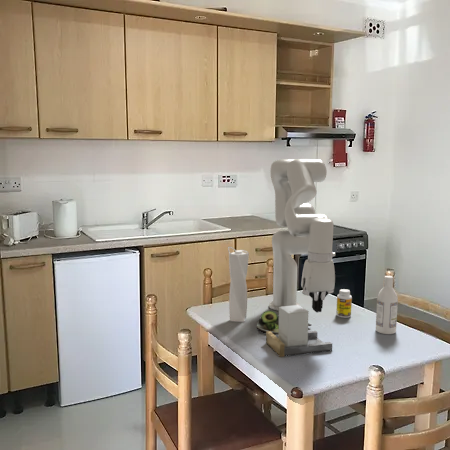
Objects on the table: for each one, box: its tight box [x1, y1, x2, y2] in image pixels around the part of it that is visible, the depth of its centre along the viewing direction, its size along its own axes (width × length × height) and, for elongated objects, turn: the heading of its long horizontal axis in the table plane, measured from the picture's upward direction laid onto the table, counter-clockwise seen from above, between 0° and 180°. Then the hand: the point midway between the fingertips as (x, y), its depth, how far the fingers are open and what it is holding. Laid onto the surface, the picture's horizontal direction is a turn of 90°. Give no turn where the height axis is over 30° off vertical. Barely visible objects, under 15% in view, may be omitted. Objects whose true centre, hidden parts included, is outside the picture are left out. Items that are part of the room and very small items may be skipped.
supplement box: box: [278, 304, 310, 347], centre depth 161 cm, size 7×7×13 cm
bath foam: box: [375, 275, 399, 335], centre depth 177 cm, size 7×7×20 cm
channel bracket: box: [265, 330, 333, 358], centre depth 163 cm, size 12×18×4 cm, turn 106°
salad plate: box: [256, 310, 312, 335], centre depth 181 cm, size 19×18×5 cm
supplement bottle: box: [336, 288, 353, 319], centre depth 194 cm, size 6×6×10 cm
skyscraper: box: [227, 246, 250, 323], centre depth 188 cm, size 8×8×28 cm
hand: (317, 310), depth 165 cm, fingers closed
